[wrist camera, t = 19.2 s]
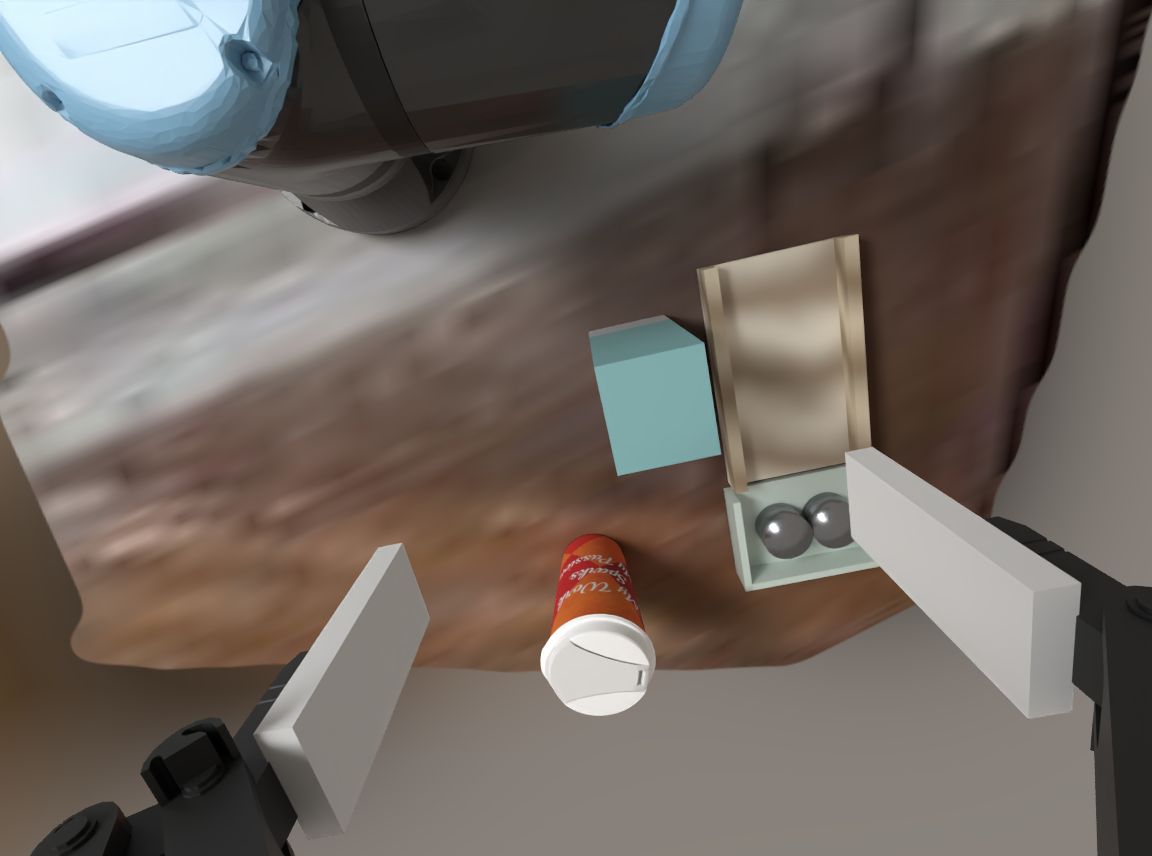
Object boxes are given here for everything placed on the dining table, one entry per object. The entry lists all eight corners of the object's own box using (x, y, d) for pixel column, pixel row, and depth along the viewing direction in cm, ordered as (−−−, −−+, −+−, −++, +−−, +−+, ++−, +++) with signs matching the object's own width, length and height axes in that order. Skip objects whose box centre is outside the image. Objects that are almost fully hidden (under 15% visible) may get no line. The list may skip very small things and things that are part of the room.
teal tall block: (588, 331, 43) (594, 367, 29) (663, 314, 42) (704, 342, 29) (605, 409, 45) (617, 475, 31) (677, 393, 44) (721, 454, 31)
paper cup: (640, 526, 48) (665, 631, 34) (630, 600, 50) (650, 725, 37) (552, 519, 48) (543, 622, 34) (546, 594, 50) (535, 717, 37)
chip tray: (723, 488, 47) (732, 503, 44) (863, 459, 46) (883, 473, 43) (736, 572, 49) (746, 591, 46) (869, 546, 48) (888, 564, 46)
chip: (745, 526, 47) (754, 541, 45) (778, 494, 46) (790, 507, 44) (777, 551, 48) (787, 567, 46) (810, 520, 47) (823, 535, 45)
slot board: (696, 269, 41) (703, 270, 39) (842, 235, 40) (858, 234, 38) (728, 481, 47) (736, 493, 44) (857, 455, 46) (872, 466, 43)
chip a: (796, 501, 47) (808, 514, 44) (842, 485, 46) (856, 498, 44) (807, 539, 48) (819, 554, 45) (852, 525, 47) (867, 539, 45)
